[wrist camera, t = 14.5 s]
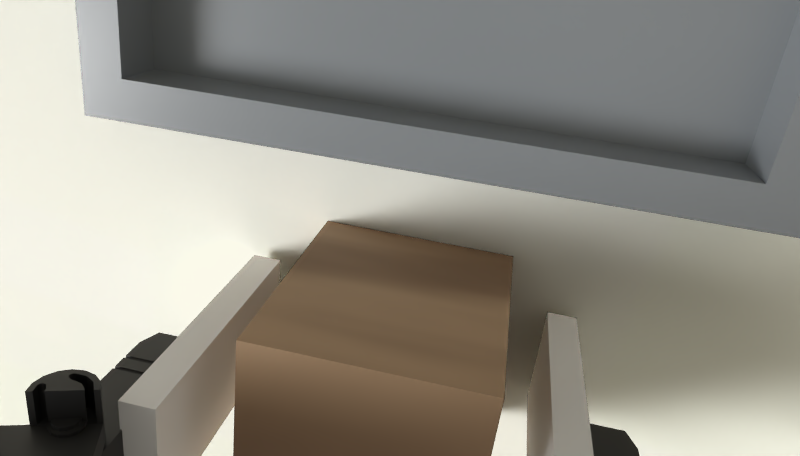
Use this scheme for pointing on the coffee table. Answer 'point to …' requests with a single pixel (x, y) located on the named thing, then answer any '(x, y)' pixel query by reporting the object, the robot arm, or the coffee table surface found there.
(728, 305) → the coffee table surface
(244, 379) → the walnut block
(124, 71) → the tray
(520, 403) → the coffee table surface
